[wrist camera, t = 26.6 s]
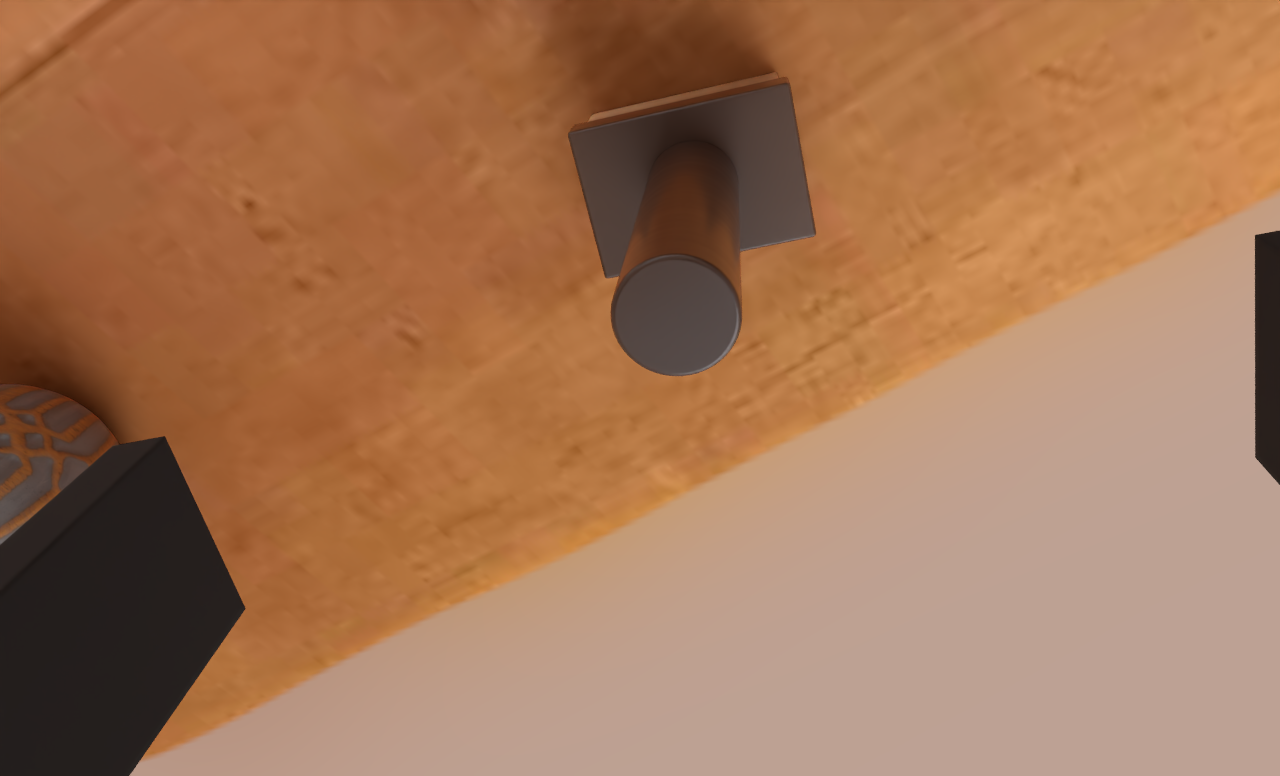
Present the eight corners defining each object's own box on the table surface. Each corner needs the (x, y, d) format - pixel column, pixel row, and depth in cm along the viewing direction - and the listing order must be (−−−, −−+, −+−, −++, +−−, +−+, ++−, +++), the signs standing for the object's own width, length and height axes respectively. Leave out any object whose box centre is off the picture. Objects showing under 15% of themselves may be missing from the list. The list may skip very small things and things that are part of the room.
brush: (783, 63, 27) (818, 173, 16) (808, 205, 29) (856, 390, 18) (582, 110, 28) (489, 243, 17) (616, 245, 30) (551, 444, 19)
